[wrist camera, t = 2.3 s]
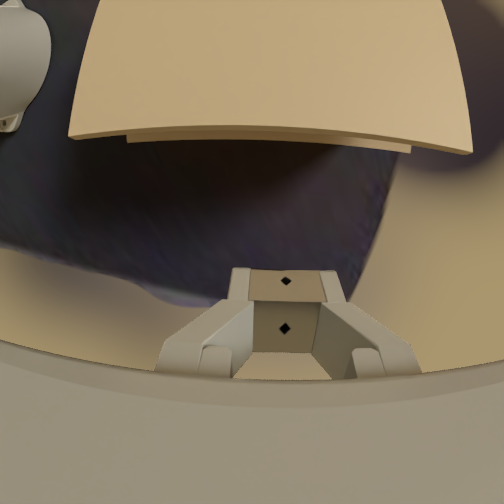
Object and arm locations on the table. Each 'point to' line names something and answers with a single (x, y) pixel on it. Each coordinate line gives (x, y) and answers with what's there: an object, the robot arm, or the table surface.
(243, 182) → the table surface
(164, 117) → the carton lid
